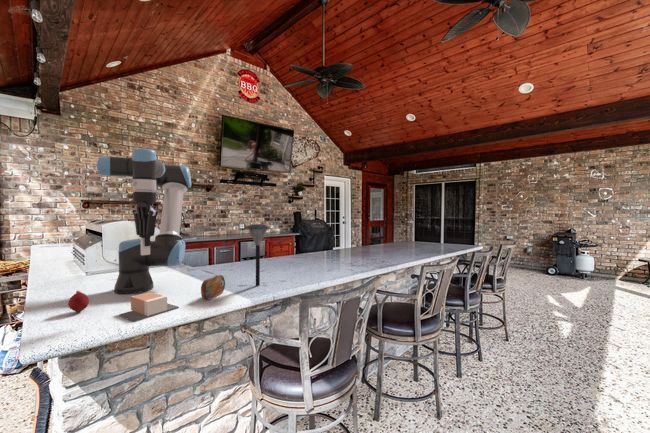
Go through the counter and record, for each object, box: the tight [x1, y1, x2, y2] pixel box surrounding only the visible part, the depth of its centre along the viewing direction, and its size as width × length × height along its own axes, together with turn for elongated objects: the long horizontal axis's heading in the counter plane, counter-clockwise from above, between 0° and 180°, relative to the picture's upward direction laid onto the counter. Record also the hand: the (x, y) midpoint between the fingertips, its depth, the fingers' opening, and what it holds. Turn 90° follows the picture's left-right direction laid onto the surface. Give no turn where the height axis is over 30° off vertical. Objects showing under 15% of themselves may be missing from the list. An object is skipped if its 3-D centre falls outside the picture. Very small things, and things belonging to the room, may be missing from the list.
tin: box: [200, 274, 226, 300], centre depth 129 cm, size 15×3×8 cm, turn 168°
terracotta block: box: [130, 291, 168, 316], centre depth 110 cm, size 5×7×11 cm
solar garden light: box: [244, 223, 271, 287], centre depth 147 cm, size 12×12×30 cm
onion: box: [68, 290, 90, 314], centre depth 108 cm, size 6×6×8 cm
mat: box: [118, 302, 180, 322], centre depth 110 cm, size 10×16×1 cm, turn 149°
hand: (145, 254), depth 112 cm, fingers closed
